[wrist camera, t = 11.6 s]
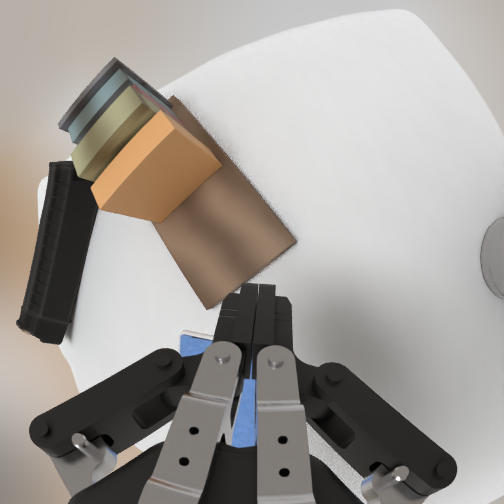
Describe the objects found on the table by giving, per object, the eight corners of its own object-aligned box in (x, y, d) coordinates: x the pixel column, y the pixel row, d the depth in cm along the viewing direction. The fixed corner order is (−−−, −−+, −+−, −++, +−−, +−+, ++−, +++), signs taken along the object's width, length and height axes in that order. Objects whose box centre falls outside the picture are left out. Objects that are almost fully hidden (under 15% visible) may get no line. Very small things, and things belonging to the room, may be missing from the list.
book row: (178, 99, 35) (119, 48, 22) (297, 241, 29) (262, 223, 16) (121, 157, 37) (52, 127, 25) (212, 308, 32) (134, 331, 19)
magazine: (67, 129, 30) (-20, 321, 24) (78, 130, 29) (-14, 334, 23) (126, 187, 46) (57, 337, 39) (138, 190, 45) (67, 347, 38)
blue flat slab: (182, 327, 33) (177, 329, 32) (283, 344, 30) (281, 348, 28) (183, 447, 33) (179, 451, 32) (266, 471, 29) (264, 477, 28)
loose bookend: (208, 148, 31) (160, 109, 22) (222, 165, 30) (174, 128, 21) (149, 205, 33) (90, 187, 24) (160, 223, 32) (99, 209, 23)
